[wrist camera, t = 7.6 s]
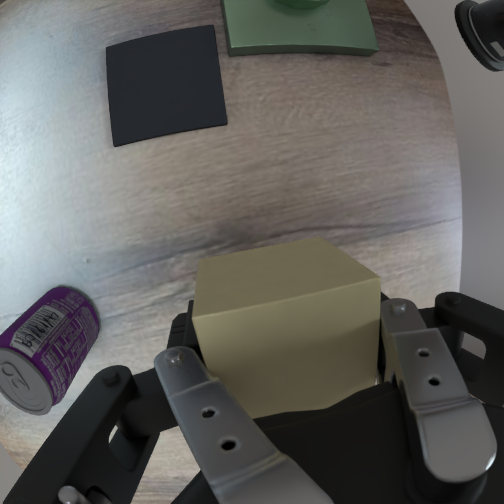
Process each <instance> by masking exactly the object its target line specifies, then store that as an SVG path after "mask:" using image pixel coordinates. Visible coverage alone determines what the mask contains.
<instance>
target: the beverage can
mask: <svg viewBox="0 0 504 504" xmlns="http://www.w3.org/2000/svg"><path fill="white" fill-rule="evenodd" d="M98 332H99V323H98V318H97V315H96V313H95V311H94V309H93V307H92V306H91V304H90V303H89V302H88V301H87V300H86V299H85V298H84V297H83V296H82V295H81V294H79V293H78V292H76V291H74V290H72V289H69V288H65V287H57V288H53V289H51V290H49V291H48V292H47V293H46V294H45V295H43V296H42V297H41V298H40V299H39V300H38V301H37V302H35V303H34V304H33V305H32V306H31V307H30V308H29V309H28V310H27V311H25V312H24V313H23V314H22V315H21V316H20V317H19V318H18V319H17V320H16V321H15V322H14V323H13V324H12V325H10V326H9V327H8V328H7V329H6V330H5V331H4V332H3V333H2V334H1V335H0V392H1V393H2V395H3V396H4V397H5V398H6V399H7V400H8V401H9V402H11V403H12V404H13V405H14V406H16V407H17V408H19V409H21V410H22V411H24V412H27V413H29V414H33V415H45V414H47V413H48V412H49V411H50V410H51V408H52V406H54V405H56V404H58V403H59V402H60V401H61V400H62V399H63V398H64V396H65V394H66V392H67V390H68V388H69V386H70V384H71V383H72V381H73V379H74V377H75V375H76V373H77V372H78V370H79V368H80V366H81V365H82V363H83V361H84V359H85V358H86V356H87V354H88V352H89V351H90V349H91V347H92V345H93V344H94V342H95V340H96V339H97V336H98Z"/></svg>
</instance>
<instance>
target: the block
mask: <svg viewBox="0 0 504 504" xmlns="http://www.w3.org/2000/svg"><path fill="white" fill-rule="evenodd" d="M380 300H381V278H380V276H378V275H377V274H375V273H374V272H372V271H371V270H370V269H368V268H367V267H365V266H364V265H362V264H361V263H359V262H358V261H356V260H355V259H353V258H352V257H350V256H349V255H347V254H346V253H344V252H343V251H341V250H340V249H338V248H337V247H335V246H334V245H332V244H331V243H329V242H328V241H326V240H325V239H323V238H322V237H314V238H309V239H303V240H298V241H293V242H288V243H282V244H277V245H272V246H266V247H261V248H256V249H250V250H245V251H240V252H235V253H229V254H224V255H219V256H214V257H208V258H203V259H200V260H199V265H198V273H197V280H196V288H195V296H194V304H193V312H192V321H193V325H194V329H195V332H196V336H197V339H198V342H199V346H200V349H201V353H202V356H203V359H204V363H205V366H206V369H207V370H208V372H209V373H210V374H211V376H212V377H213V378H215V377H219V378H220V379H221V380H222V381H223V383H224V384H225V385H226V387H227V388H228V389H229V391H230V392H231V393H232V395H233V396H234V397H235V398H236V400H237V401H238V402H239V404H240V405H241V406H242V407H243V409H244V410H245V411H246V412H247V414H248V415H249V416H250V417H251V419H254V418H259V417H264V416H269V415H273V414H278V413H282V412H290V411H306V410H318V409H325V408H328V407H330V406H332V405H334V404H336V403H338V402H339V401H341V400H343V399H345V398H347V397H348V396H350V395H352V394H354V393H356V392H357V391H360V390H363V389H366V388H369V387H372V386H374V385H375V381H376V371H377V360H378V346H379V329H380Z"/></svg>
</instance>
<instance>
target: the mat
mask: <svg viewBox="0 0 504 504" xmlns="http://www.w3.org/2000/svg"><path fill="white" fill-rule="evenodd" d="M106 65H107V85H108V99H109V110H110V121H111V130H112V138H113V146H114V147H117V146H121V145H125V144H129V143H133V142H137V141H141V140H146V139H150V138H155V137H160V136H164V135H169V134H174V133H180V132H185V131H191V130H196V129H202V128H209V127H215V126H222V125H227V116H226V109H225V102H224V95H223V88H222V81H221V74H220V67H219V60H218V52H217V45H216V38H215V31H214V25H207V26H199V27H192V28H186V29H180V30H174V31H169V32H164V33H159V34H155V35H150V36H146V37H142V38H138V39H134V40H130V41H126V42H123V43H119V44H116V45H112V46H109V47H106Z"/></svg>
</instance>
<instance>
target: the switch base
mask: <svg viewBox="0 0 504 504" xmlns="http://www.w3.org/2000/svg"><path fill="white" fill-rule="evenodd" d="M221 6H222V12H223V19H224V26H225V32H226V39H227V45H228V52H229V56H240V55H253V54H270V53H330V54H347V55H359V56H371V55H372V54H374V53H375V52H377V51H379V47H378V43H377V39H376V35H375V32H374V28H373V25H372V21H371V18H370V15H369V11H368V8H367V5H366V2H365V0H221Z"/></svg>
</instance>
